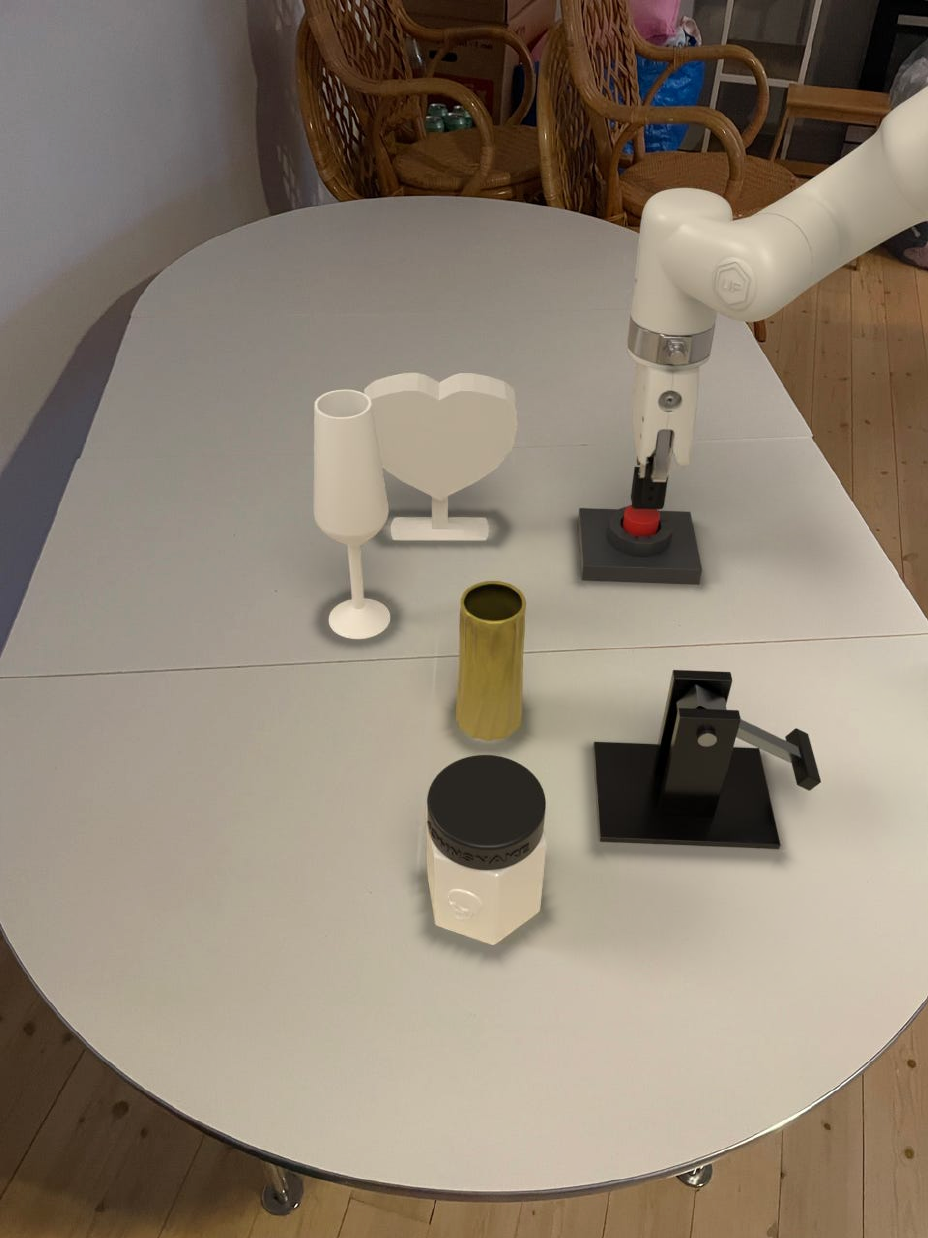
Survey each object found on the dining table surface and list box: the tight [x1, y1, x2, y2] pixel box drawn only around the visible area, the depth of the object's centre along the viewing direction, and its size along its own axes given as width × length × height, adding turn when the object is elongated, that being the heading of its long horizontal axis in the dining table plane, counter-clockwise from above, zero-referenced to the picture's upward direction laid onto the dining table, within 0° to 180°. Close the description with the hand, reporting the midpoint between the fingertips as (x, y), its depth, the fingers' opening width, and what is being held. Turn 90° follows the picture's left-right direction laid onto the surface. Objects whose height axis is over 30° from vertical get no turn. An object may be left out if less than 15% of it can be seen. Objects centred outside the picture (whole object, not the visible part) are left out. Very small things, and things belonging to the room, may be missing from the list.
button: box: [623, 504, 660, 536], centre depth 107 cm, size 4×4×2 cm
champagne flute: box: [313, 389, 391, 640], centre depth 94 cm, size 7×7×24 cm
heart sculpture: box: [363, 372, 519, 541], centre depth 107 cm, size 16×5×18 cm, turn 91°
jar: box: [425, 754, 548, 946], centre depth 75 cm, size 9×8×12 cm
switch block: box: [577, 505, 703, 586], centre depth 109 cm, size 12×10×4 cm
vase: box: [455, 580, 527, 742], centre depth 87 cm, size 6×6×14 cm
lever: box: [676, 685, 822, 791], centre depth 80 cm, size 12×5×2 cm
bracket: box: [592, 669, 782, 850], centre depth 82 cm, size 14×10×13 cm
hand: (646, 504), depth 106 cm, fingers closed
